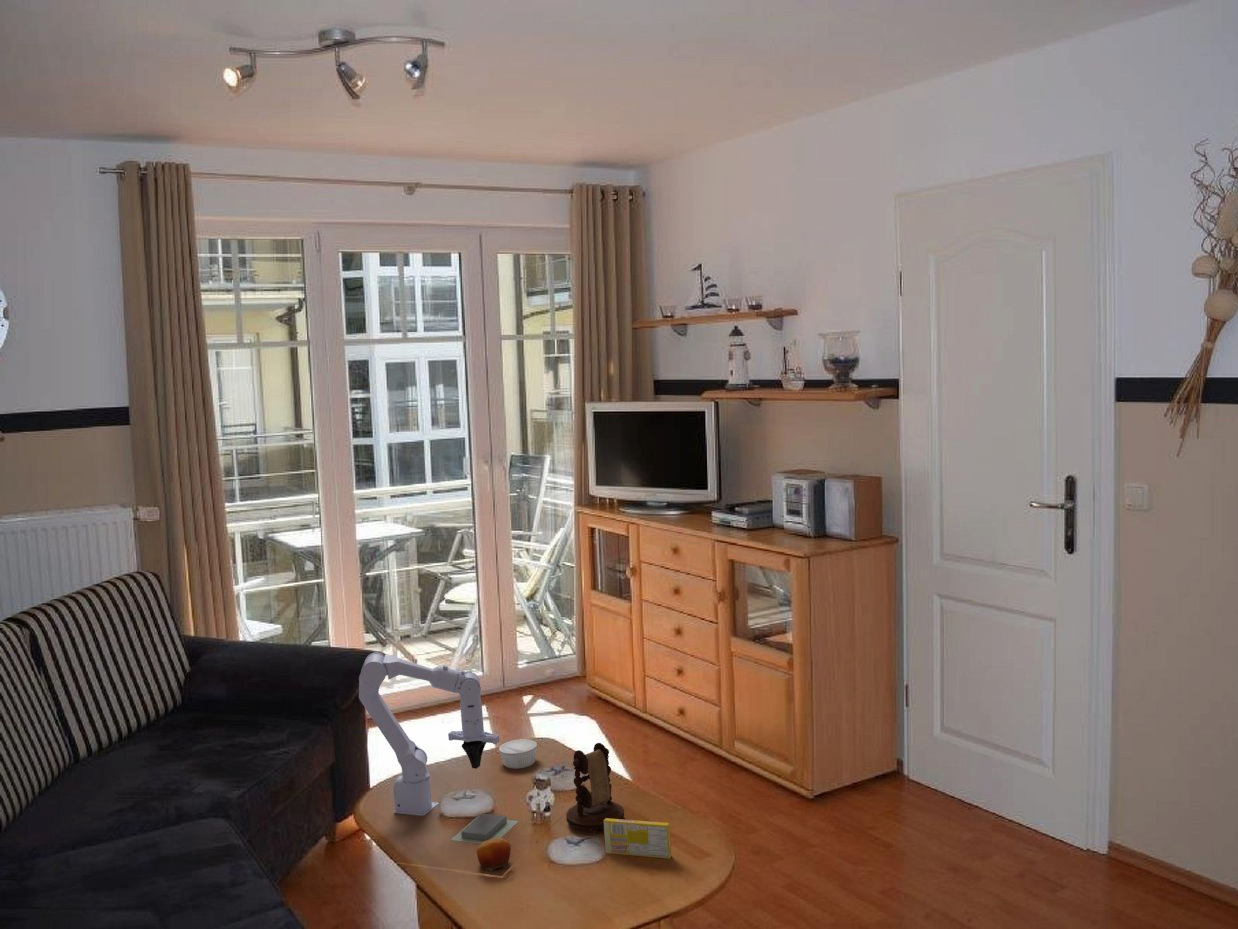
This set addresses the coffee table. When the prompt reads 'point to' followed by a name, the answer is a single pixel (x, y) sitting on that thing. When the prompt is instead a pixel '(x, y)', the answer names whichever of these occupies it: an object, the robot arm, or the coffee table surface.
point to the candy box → (637, 838)
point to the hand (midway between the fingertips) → (476, 767)
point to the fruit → (494, 853)
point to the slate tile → (484, 827)
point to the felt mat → (497, 834)
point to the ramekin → (518, 753)
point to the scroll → (593, 791)
